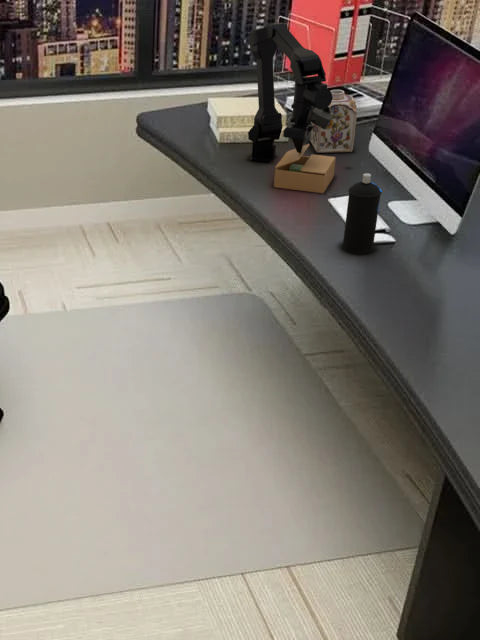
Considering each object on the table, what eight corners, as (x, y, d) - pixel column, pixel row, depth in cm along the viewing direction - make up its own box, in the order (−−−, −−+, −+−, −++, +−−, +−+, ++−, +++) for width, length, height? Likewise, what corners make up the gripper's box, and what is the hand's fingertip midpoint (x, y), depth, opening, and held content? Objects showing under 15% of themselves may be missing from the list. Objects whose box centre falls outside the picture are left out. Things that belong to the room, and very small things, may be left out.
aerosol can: (355, 257, 257) (365, 183, 245) (335, 245, 263) (343, 172, 251) (380, 249, 260) (391, 176, 248) (359, 238, 266) (368, 166, 254)
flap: (275, 168, 294) (275, 167, 294) (287, 152, 304) (287, 151, 304) (298, 160, 290) (297, 159, 290) (309, 144, 300) (309, 143, 300)
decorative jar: (353, 152, 318) (359, 96, 308) (316, 154, 318) (321, 97, 308) (345, 139, 328) (351, 85, 318) (309, 141, 328) (314, 86, 318)
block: (300, 182, 298) (301, 169, 296) (287, 181, 300) (288, 168, 297) (304, 178, 301) (305, 165, 299) (291, 176, 303) (292, 163, 300)
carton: (273, 187, 297) (275, 167, 294) (285, 170, 307) (287, 151, 304) (323, 193, 292) (325, 173, 288) (333, 176, 302) (335, 156, 299)
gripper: (324, 112, 277) (318, 166, 286) (338, 92, 291) (333, 144, 299) (284, 108, 281) (280, 161, 290) (301, 89, 295) (296, 140, 304)
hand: (299, 152), depth 295 cm, fingers closed
